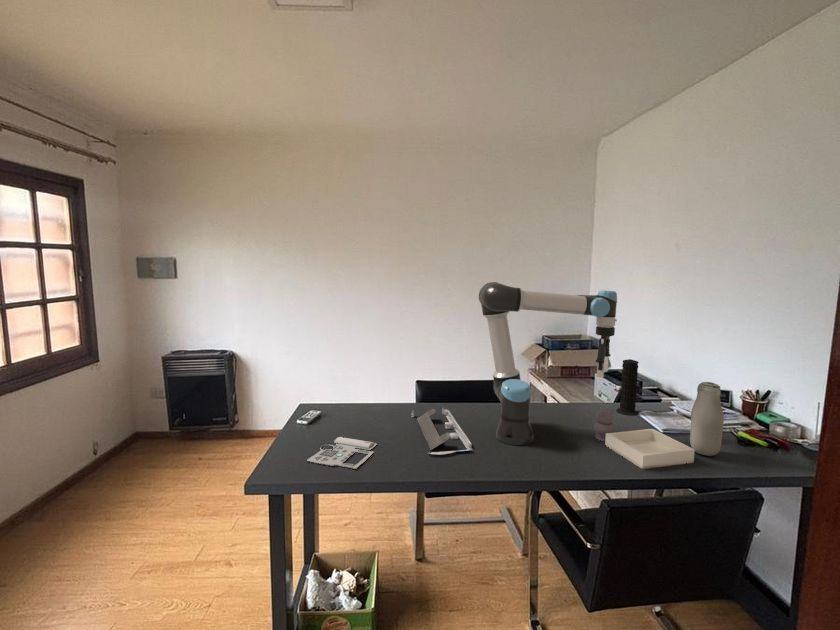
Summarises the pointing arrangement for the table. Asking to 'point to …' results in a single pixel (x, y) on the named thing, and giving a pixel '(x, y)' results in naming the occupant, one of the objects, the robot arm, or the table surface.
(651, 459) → the tray
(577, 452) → the table surface
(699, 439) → the beige milk bottle
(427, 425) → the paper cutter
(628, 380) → the handle grip
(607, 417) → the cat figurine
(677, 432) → the table surface
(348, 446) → the office telephone
